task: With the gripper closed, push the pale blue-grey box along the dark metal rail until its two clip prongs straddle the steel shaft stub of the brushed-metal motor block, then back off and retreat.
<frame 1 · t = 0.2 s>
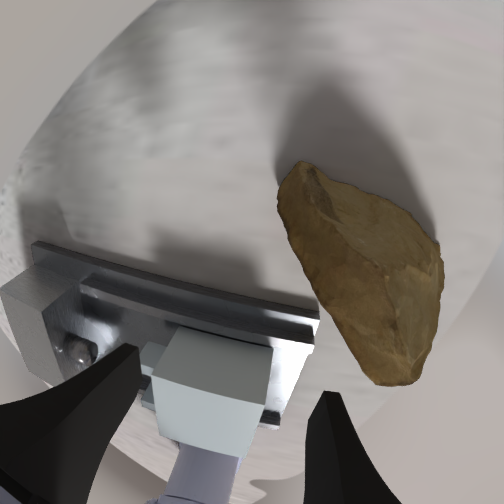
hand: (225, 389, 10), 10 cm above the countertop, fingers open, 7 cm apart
pale blue-grey box: (198, 401, 20), point 4 cm above the countertop, slide at 0.0 cm
rock: (362, 218, 17), on the countertop
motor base: (224, 363, 23), on the countertop
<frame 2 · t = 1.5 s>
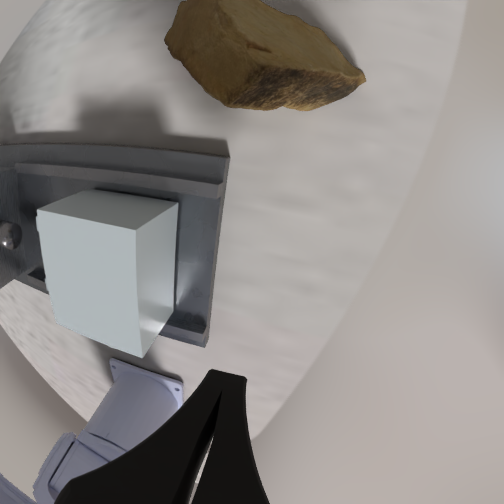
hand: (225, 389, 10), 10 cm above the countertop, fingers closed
pale blue-grey box: (98, 277, 17), point 4 cm above the countertop, slide at 0.0 cm
rock: (265, 50, 14), on the countertop
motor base: (137, 244, 20), on the countertop
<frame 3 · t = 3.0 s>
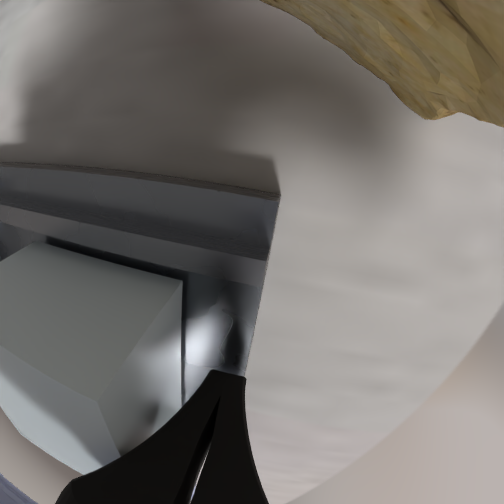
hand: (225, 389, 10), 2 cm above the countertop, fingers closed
pale blue-grey box: (63, 385, 9), point 4 cm above the countertop, slide at 0.0 cm, touching gripper
rock: (344, 3, 6), on the countertop
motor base: (121, 324, 12), on the countertop
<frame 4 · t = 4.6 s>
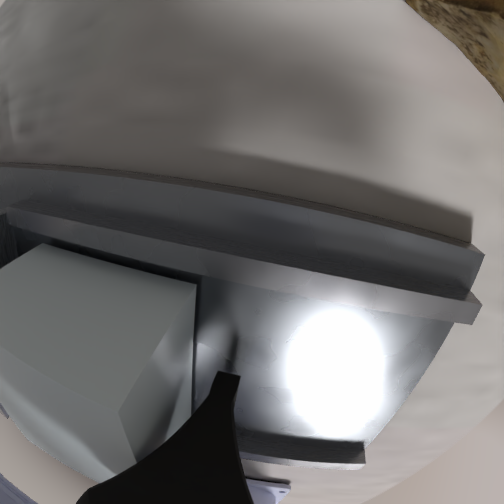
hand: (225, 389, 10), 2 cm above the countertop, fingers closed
pale blue-grey box: (72, 390, 9), point 4 cm above the countertop, slide at 6.9 cm, touching gripper
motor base: (278, 366, 12), on the countertop
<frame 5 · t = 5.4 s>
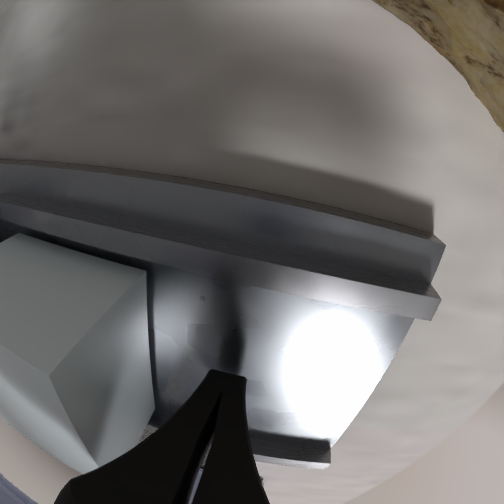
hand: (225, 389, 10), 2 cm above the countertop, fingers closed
pale blue-grey box: (40, 371, 9), point 4 cm above the countertop, slide at 6.8 cm
rock: (486, 63, 6), on the countertop
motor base: (234, 356, 12), on the countertop
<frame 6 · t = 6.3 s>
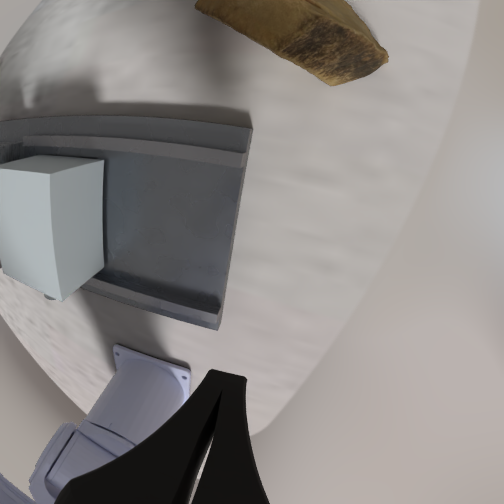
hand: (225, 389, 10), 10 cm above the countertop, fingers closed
pale blue-grey box: (38, 230, 17), point 4 cm above the countertop, slide at 6.8 cm
rock: (290, 28, 14), on the countertop
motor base: (150, 219, 19), on the countertop
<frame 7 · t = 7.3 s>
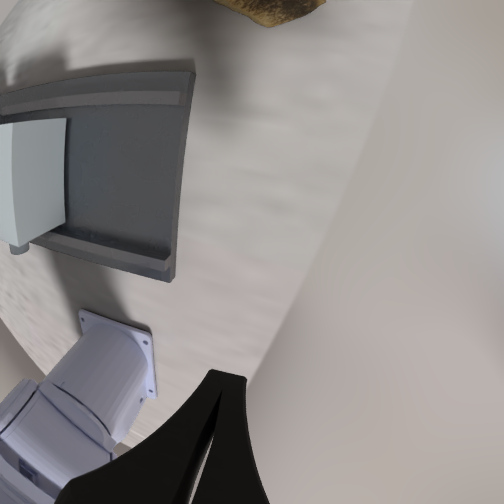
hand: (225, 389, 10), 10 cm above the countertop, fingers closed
pale blue-grey box: (7, 187, 16), point 4 cm above the countertop, slide at 6.8 cm
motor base: (106, 171, 19), on the countertop
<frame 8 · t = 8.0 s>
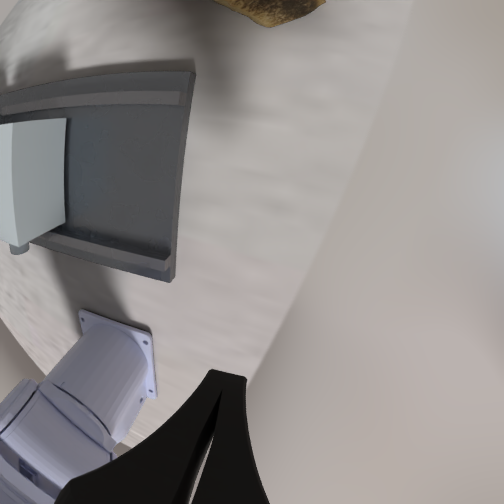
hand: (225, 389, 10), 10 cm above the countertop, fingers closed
pale blue-grey box: (7, 187, 16), point 4 cm above the countertop, slide at 6.8 cm
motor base: (106, 171, 19), on the countertop
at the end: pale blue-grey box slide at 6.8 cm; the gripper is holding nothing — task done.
